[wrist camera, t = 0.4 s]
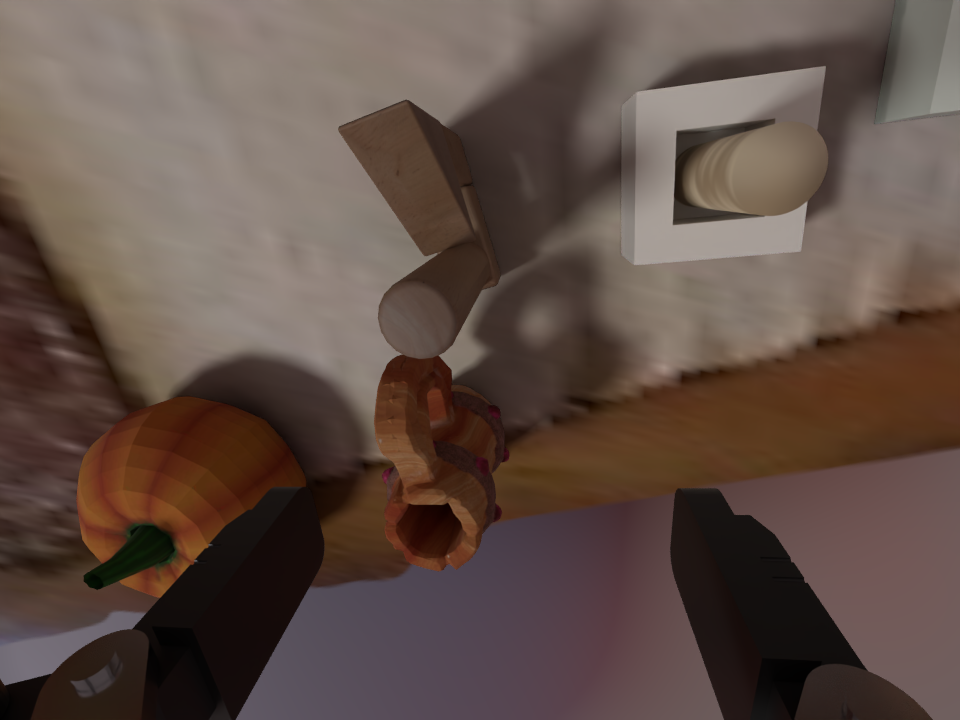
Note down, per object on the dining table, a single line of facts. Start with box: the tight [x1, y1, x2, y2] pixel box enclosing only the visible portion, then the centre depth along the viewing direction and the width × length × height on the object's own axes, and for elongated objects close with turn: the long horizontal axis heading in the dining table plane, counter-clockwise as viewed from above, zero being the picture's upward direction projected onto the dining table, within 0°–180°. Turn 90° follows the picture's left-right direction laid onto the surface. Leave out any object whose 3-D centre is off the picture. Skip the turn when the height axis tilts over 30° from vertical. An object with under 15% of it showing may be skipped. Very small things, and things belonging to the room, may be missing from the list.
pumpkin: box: [76, 396, 306, 598], centre depth 39 cm, size 19×19×15 cm
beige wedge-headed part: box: [338, 100, 501, 359], centre depth 26 cm, size 4×11×18 cm, turn 17°
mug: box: [374, 355, 509, 571], centre depth 33 cm, size 15×8×15 cm, turn 12°
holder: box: [621, 66, 826, 265], centre depth 30 cm, size 10×10×5 cm
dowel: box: [674, 121, 828, 216], centre depth 26 cm, size 4×4×11 cm
